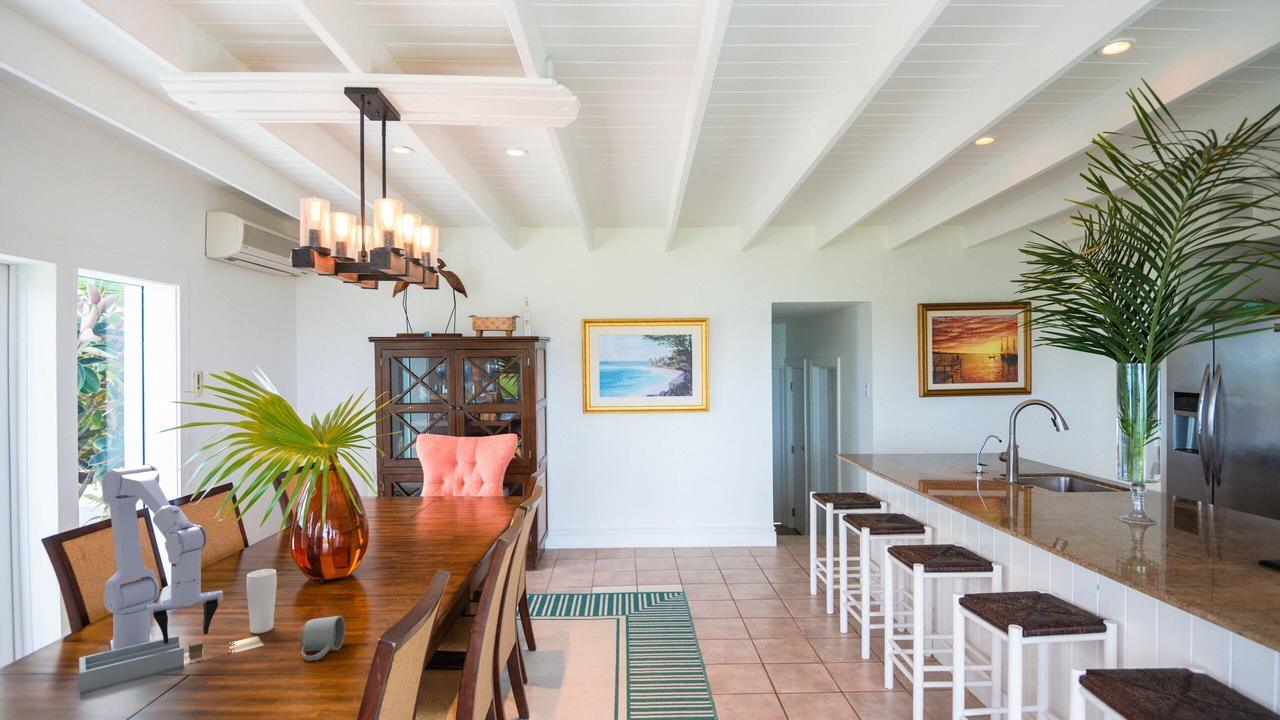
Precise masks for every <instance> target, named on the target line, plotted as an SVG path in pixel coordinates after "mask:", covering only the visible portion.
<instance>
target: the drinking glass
mask: <svg viewBox="0 0 1280 720" xmlns="http://www.w3.org/2000/svg"><path fill="white" fill-rule="evenodd" d="M277 583H278V581H277V570H276V569H274V568H263V569H258V570H253V571H250V572H249V573H247V574H246V599H247V608H248V620H249V632H250V633H252V634H256V635H257V634H263V633H268V632H270V631H271V630H272V629H274V626H275V625H274V621H275V620H274V619H275V606H276V595H277Z"/></svg>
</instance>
